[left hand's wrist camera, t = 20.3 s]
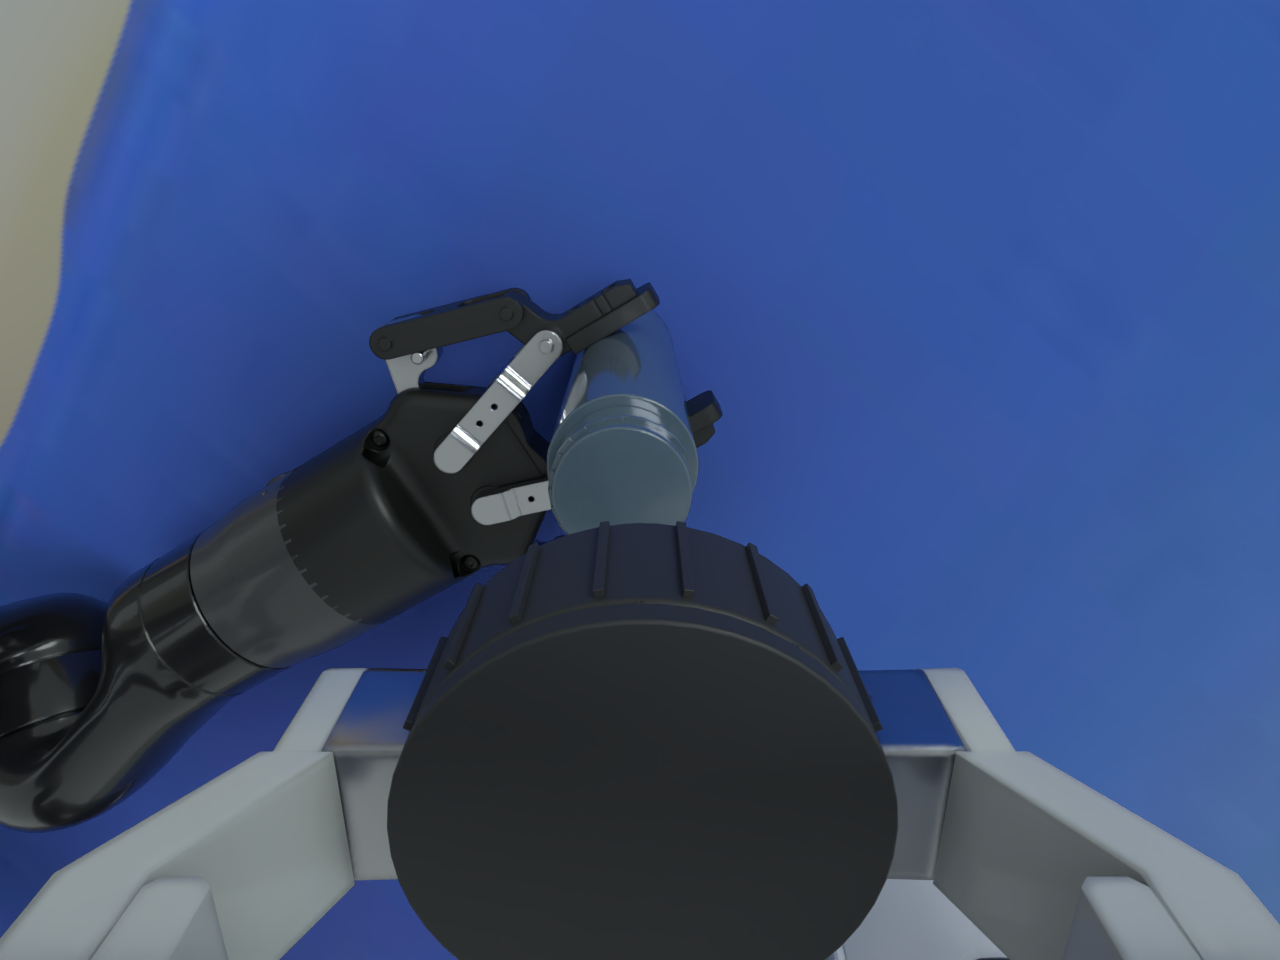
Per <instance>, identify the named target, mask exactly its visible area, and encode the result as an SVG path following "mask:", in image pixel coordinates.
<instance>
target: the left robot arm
mask: <svg viewBox="0 0 1280 960" xmlns="http://www.w3.org/2000/svg"><path fill="white" fill-rule="evenodd" d="M426 671H427V669H385V668H370V669H366V668H330V669H327V670H325V671H323V672H322V673H321V674H320V676H319V678H318V679H317V681H316V682H315V684H314V686H313V687H312V689H311V690H310V692H309V694H308V695H307V697H306V698H305V700H304V702H303V703H302V705H301V706H300V708H299V710H298V711H297V713H296V714H295V716H294V718H293V719H292V721H291V722H290V724H289V726H288V727H287V729H286V731H285V732H284V734H283V735H282V737H281V739H280V740H279V742H278V743H277V745H276V747H275V748H274V750H273V751H272V752H259V753H257V754H255V755H254V756H252V757H250V758H248V759H247V760H245V761H243V762H242V763H240V764H238V765H237V766H235V767H233V768H231V769H230V770H228V771H226V772H225V773H223V774H221V775H220V776H218V777H216V778H214V779H213V780H211V781H209V782H208V783H206V784H204V785H203V786H201V787H199V788H198V789H196V790H194V791H192V792H191V793H189V794H187V795H186V796H184V797H182V798H181V799H179V800H177V801H175V802H174V803H172V804H170V805H169V806H167V807H165V808H164V809H162V810H160V811H158V812H157V813H155V814H153V815H152V816H150V817H148V818H147V819H145V820H143V821H141V822H140V823H138V824H136V825H135V826H133V827H131V828H130V829H128V830H126V831H125V832H123V833H121V834H119V835H118V836H116V837H114V838H113V839H111V840H109V841H108V842H106V843H104V844H102V845H101V846H99V847H97V848H96V849H94V850H92V851H91V852H89V853H87V854H85V855H84V856H82V857H80V858H79V859H77V860H75V861H74V862H72V863H70V864H69V865H67V866H65V867H63V868H62V869H60V870H58V871H57V872H55V873H54V874H53V875H52V876H51V877H50V879H49V880H48V881H47V882H46V884H45V885H44V886H43V887H42V888H41V890H40V891H39V892H38V893H37V895H36V896H35V897H34V898H33V899H32V901H31V902H30V903H29V904H28V905H27V907H26V908H25V909H24V910H23V912H22V913H21V914H20V915H19V916H18V918H17V919H16V920H15V921H14V922H13V924H12V925H11V926H10V927H9V929H8V930H7V931H6V932H5V933H4V935H3V936H2V937H1V938H0V960H279V959H280V958H281V957H282V956H283V955H284V954H285V953H286V952H287V951H288V950H289V949H290V948H291V947H292V946H293V945H294V944H295V943H296V942H297V941H298V940H299V939H300V938H301V937H302V936H303V935H304V934H305V933H306V932H307V931H308V930H309V929H310V928H311V927H312V926H313V925H314V924H315V923H317V922H318V921H319V920H320V919H321V918H322V917H323V916H324V915H325V914H326V913H327V912H328V911H329V910H330V909H331V908H332V907H333V906H334V905H335V904H336V903H337V902H338V901H339V900H340V899H341V898H342V897H343V896H344V895H345V894H346V893H347V892H348V891H349V890H350V889H351V888H352V887H353V886H354V885H355V882H354V880H381V879H398V877H397V874H396V871H395V868H394V865H393V861H392V858H391V854H390V847H389V840H388V832H387V805H388V797H389V792H390V787H391V782H392V777H393V773H394V771H395V768H396V765H397V763H398V760H399V757H400V755H401V752H402V750H403V747H404V745H405V742H406V740H407V737H408V735H409V732H410V731H409V730H406V729H403V725H404V723H405V721H406V718H407V716H408V714H409V711H410V709H411V706H412V704H413V702H414V699H415V697H416V695H417V692H418V690H419V688H420V685H421V683H422V680H423V678H424V676H425V673H426ZM858 672H859V675H860V677H861V679H862V681H863V684H864V686H865V688H866V691H867V693H868V695H869V698H870V700H871V702H872V704H873V707H874V709H875V711H876V714H877V716H878V718H879V721H880V723H881V725H882V728H883V730H880V731H877V732H876V734H877V737H878V739H879V741H880V744H881V746H882V749H883V751H884V754H885V757H886V759H887V762H888V765H889V767H890V770H891V772H892V776H893V781H894V786H895V791H896V796H897V801H898V832H897V839H896V846H895V853H894V858H893V861H892V864H891V867H890V871H889V874H888V877H887V880H886V882H885V884H884V886H883V888H882V891H881V893H880V895H879V897H878V899H877V901H876V903H875V905H874V906H873V908H872V909H871V910H870V912H869V913H868V915H867V916H866V918H865V919H864V921H863V922H862V924H861V925H860V926H859V928H858V929H857V930H856V931H855V932H854V933H853V934H852V935H851V936H850V937H849V939H848V940H847V941H846V942H845V943H844V944H843V945H842V946H841V947H840V948H839V949H838V950H837V951H835V952H834V953H833V954H832V955H831V956H830V957H828V958H827V959H826V960H1280V924H1279V923H1278V922H1277V921H1276V920H1275V918H1274V917H1273V916H1272V915H1271V914H1270V912H1269V911H1268V910H1267V909H1266V908H1265V906H1264V905H1263V904H1262V903H1261V902H1260V900H1259V899H1258V898H1257V897H1256V896H1255V894H1254V893H1253V892H1252V891H1251V890H1250V888H1249V887H1248V886H1247V885H1246V884H1245V882H1244V881H1243V880H1242V879H1241V878H1240V876H1239V875H1238V874H1236V873H1235V872H1233V871H1231V870H1230V869H1228V868H1226V867H1225V866H1223V865H1221V864H1219V863H1218V862H1216V861H1214V860H1213V859H1211V858H1209V857H1207V856H1206V855H1204V854H1202V853H1201V852H1199V851H1197V850H1196V849H1194V848H1192V847H1190V846H1189V845H1187V844H1185V843H1184V842H1182V841H1180V840H1178V839H1177V838H1175V837H1173V836H1172V835H1170V834H1168V833H1166V832H1165V831H1163V830H1161V829H1160V828H1158V827H1156V826H1155V825H1153V824H1151V823H1149V822H1148V821H1146V820H1144V819H1143V818H1141V817H1139V816H1137V815H1136V814H1134V813H1132V812H1131V811H1129V810H1127V809H1125V808H1124V807H1122V806H1120V805H1119V804H1117V803H1115V802H1114V801H1112V800H1110V799H1108V798H1107V797H1105V796H1103V795H1102V794H1100V793H1098V792H1096V791H1095V790H1093V789H1091V788H1090V787H1088V786H1086V785H1084V784H1083V783H1081V782H1079V781H1078V780H1076V779H1074V778H1073V777H1071V776H1069V775H1067V774H1066V773H1064V772H1062V771H1061V770H1059V769H1057V768H1055V767H1054V766H1052V765H1050V764H1049V763H1047V762H1045V761H1044V760H1042V759H1040V758H1038V757H1037V756H1035V755H1033V754H1032V753H1030V752H1016V751H1015V749H1014V748H1013V746H1012V745H1011V743H1010V741H1009V740H1008V738H1007V737H1006V735H1005V734H1004V732H1003V731H1002V729H1001V728H1000V726H999V724H998V723H997V721H996V720H995V718H994V717H993V715H992V714H991V712H990V711H989V709H988V707H987V706H986V704H985V703H984V701H983V700H982V698H981V697H980V695H979V693H978V692H977V690H976V689H975V687H974V686H973V684H972V683H971V681H970V680H969V678H968V676H967V675H966V673H965V672H964V671H963V670H961V669H959V668H957V667H956V668H927V669H918V670H861V671H858Z"/></svg>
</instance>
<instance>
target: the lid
mask: <svg viewBox="0 0 1280 960" xmlns="http://www.w3.org/2000/svg"><path fill="white" fill-rule="evenodd" d="M403 729H406V730H409V731H410V732H409V735H408V737H407V740H406V742H405V745H404V747H403V750H402V752H401V755H400V757H399V760H398V763H397V765H396V768H395V771H394V773H393V777H392V782H391V787H390V792H389V797H388V805H387V832H388V840H389V847H390V854H391V858H392V861H393V865H394V868H395V871H396V874H397V877H398V881H399V883H400V885H401V887H402V889H403V891H404V893H405V895H406V897H407V899H408V901H409V903H410V905H411V907H412V908H413V909H414V911H415V912H416V914H417V915H418V917H419V918H420V920H421V921H422V923H423V924H424V926H425V927H426V928H427V929H428V930H429V931H430V932H431V934H432V935H433V936H434V937H435V938H436V939H437V940H438V941H439V942H440V943H441V945H442V946H443V947H444V948H446V949H447V950H448V951H449V952H450V953H451V954H453V955H454V956H455V957H456V958H457V959H458V960H826V959H827V958H828V957H830V956H831V955H832V954H833V953H834V952H835V951H837V950H838V949H839V948H840V947H841V946H842V945H843V944H844V943H845V942H846V941H847V940H848V939H849V937H850V936H851V935H852V934H853V933H854V932H855V931H856V930H857V929H858V928H859V926H860V925H861V924H862V922H863V921H864V919H865V918H866V916H867V915H868V913H869V912H870V910H871V909H872V908H873V906H874V905H875V903H876V901H877V899H878V897H879V895H880V893H881V891H882V888H883V886H884V884H885V882H886V880H887V877H888V874H889V871H890V867H891V864H892V861H893V858H894V853H895V846H896V839H897V832H898V801H897V796H896V791H895V786H894V781H893V776H892V772H891V770H890V767H889V765H888V762H887V759H886V757H885V754H884V751H883V749H882V746H881V744H880V741H879V739H878V737H877V734H876V732H877V731H880V730H883V728H882V725H881V723H880V721H879V718H878V716H877V714H876V711H875V709H874V707H873V704H872V702H871V700H870V698H869V695H868V693H867V691H866V688H865V686H864V684H863V681H862V679H861V677H860V675H859V672H858V670H857V668H856V665H855V663H854V661H853V658H852V656H851V654H850V652H849V649H848V647H847V645H846V642H845V640H844V638H843V637H842V638H839V639H836V636H835V634H834V632H833V630H832V628H831V627H830V625H829V623H828V621H827V619H826V618H825V616H824V614H823V612H822V611H821V609H820V608H819V605H818V603H817V600H816V598H815V595H814V593H813V590H812V588H811V587H810V586H809V585H808V584H805V585H804V586H802V587H801V586H800V585H799V584H798V583H797V582H796V581H795V580H794V579H793V578H792V577H791V576H790V575H789V574H788V573H786V572H785V571H784V570H782V569H781V568H779V567H778V566H777V565H775V564H774V563H773V562H771V561H770V560H768V559H767V558H766V557H764V556H762V555H760V554H759V553H758V550H757V547H756V546H755V545H753V544H751V543H748V545H747V546H746V547H745V546H743V545H741V544H739V543H736V542H734V541H731V540H729V539H726V538H723V537H721V536H718V535H716V534H712V533H708V532H704V531H700V530H696V529H692V528H688V527H686V522H680V521H677V522H676V526H674V525H666V524H657V523H627V524H619V525H610V523H609V521H604V522H600V526H599V527H596V528H592V529H588V530H584V531H580V532H576V533H572V534H569V535H566V536H564V537H561V538H558V539H556V540H553V541H550V542H548V543H545V544H543V545H541V546H539V545H538V543H537V542H536V543H534V544H532V545H530V546H529V548H528V551H527V553H526V554H524V555H522V556H521V557H519V558H517V559H516V560H515V561H513V562H512V563H510V564H509V565H508V566H506V567H505V568H503V569H502V570H501V571H499V572H498V573H497V574H496V575H495V576H493V577H492V578H491V579H490V580H489V581H488V582H487V583H486V584H485V585H484V586H482V585H481V584H480V583H477V584H476V586H475V587H474V588H473V590H472V592H471V595H470V597H469V600H468V602H467V605H466V607H465V608H464V610H463V611H462V613H461V614H460V616H459V618H458V620H457V621H456V623H455V625H454V627H453V628H452V630H451V632H450V634H449V637H448V638H446V637H443V636H441V638H440V640H439V643H438V645H437V647H436V650H435V652H434V654H433V657H432V659H431V662H430V664H429V666H428V669H427V671H426V673H425V676H424V678H423V680H422V683H421V685H420V688H419V690H418V692H417V695H416V697H415V699H414V702H413V704H412V706H411V709H410V711H409V714H408V716H407V718H406V721H405V723H404V725H403Z"/></svg>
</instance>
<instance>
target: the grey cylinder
mask: <svg viewBox="0 0 1280 960" xmlns="http://www.w3.org/2000/svg"><path fill="white" fill-rule="evenodd" d="M698 470H699V463H698V454H697V448H696V444H695V439H694V435H693V431H692V426H691V422H690V418H689V413H688V409H687V405H686V400H685V396H684V392H683V387H682V383H681V378H680V374H679V370H678V365H677V361H676V357H675V352H674V348H673V344H672V339H671V336H670V333H669V330H668V328H667V326H666V325H665V323H664V322H663V320H662V319H661V318H660V317H659V316H658V315H657V314H656V313H654V312H653V311H649V312H647V313H646V314H644V315H642V316H641V317H639V318H637V319H636V320H634V321H632V322H630V323H629V324H627V325H625V326H624V327H622V328H620V329H619V330H617V331H615V332H613V333H612V334H610V335H608V336H607V337H605V338H603V339H602V340H600V341H597V342H596V343H594V344H593V345H591V346H590V347H588V348H586V349H585V350H583V351H581V352H580V353H578V354H577V355H576V358H575V362H574V365H573V368H572V372H571V375H570V378H569V382H568V385H567V388H566V392H565V395H564V398H563V402H562V405H561V408H560V412H559V415H558V418H557V422H556V425H555V428H554V432H553V435H552V438H551V442H550V445H549V449H548V454H547V476H548V481H549V483H548V494H549V499H550V505H551V510H552V512H553V514H554V516H555V518H556V520H557V522H558V525H559V526H560V527H561V528H562V529H563V530H564V532H565V533H566V534H567V535H569V534H572V533H576V532H580V531H584V530H588V529H592V528H596V527H599V526H600V522H604V521H609V523H610V525H619V524H627V523H657V524H666V525H674V526H676V522H677V521H680V522H685V520H686V518H687V515H688V513H689V510H690V506H691V501H692V494H693V491H694V489H695V486H696V482H697V478H698Z"/></svg>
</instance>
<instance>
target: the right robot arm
mask: <svg viewBox="0 0 1280 960" xmlns="http://www.w3.org/2000/svg"><path fill="white" fill-rule="evenodd" d="M659 303H660V302H659V297H658V295H657V294H656V292H655V290H654V288H653V287H652V285H651V283H650V282H649V283H647V284H644V285H643V286H641V287H639V288H637V289H636V288H635V286H634V284H633V283H632V281H631V279H627V280H620V281H616V282H614V283H613V284H611V285H609V286H608V287H606V288H604V289H603V290H601V291H599V292H598V293H596V294H595V295H593V296H591V297H589V298H588V299H586V300H584V301H583V302H581V303H579V304H578V305H576V306H574V307H573V308H571V309H569V310H568V311H566V312H564V313H562V314H550V313H547V312H545V311H544V310H542V309H541V308H540V307H538V306H537V305H536V304H535V303H534V302H532V301H531V299H530V297H529V295H528V294H527V293H526V292H525V291H524V290H522V289H520V288H511V289H507V290H503V291H499V292H495V293H491V294H487V295H483V296H479V297H475V298H471V299H467V300H463V301H459V302H455V303H451V304H447V305H443V306H439V307H435V308H432V309H428V310H424V311H420V312H416V313H412V314H408V315H404V316H400V317H396V318H394V319H393V320H391V321H389V322H387V323H386V324H384V325H383V326H381V327H380V328H378V329H377V330H375V331H374V332H373V333H372V334H371V336H370V340H369V344H370V348H371V350H372V352H373V353H374V354H375V355H376V356H377V357H379V358H381V359H385V360H386V363H387V366H388V368H389V371H390V374H391V377H392V379H393V382H394V385H395V388H396V390H397V393H398V394H397V395H396V396H395V397H394V398H393V400H392V401H391V403H390V405H389V407H388V409H387V411H386V413H385V414H384V415H383V416H382V417H380V418H379V419H377V420H375V421H374V422H372V423H370V424H369V425H367V426H365V427H364V428H362V429H361V430H359V431H357V432H356V433H354V434H352V435H351V436H349V437H347V438H346V439H344V440H342V441H341V442H339V443H337V444H336V445H334V446H332V447H331V448H329V449H327V450H326V451H324V452H322V453H321V454H319V455H317V456H316V457H314V458H312V459H311V460H309V461H307V462H306V463H304V464H302V465H301V466H299V467H297V468H296V469H294V470H293V471H291V472H287V473H284V474H282V475H280V476H278V477H276V478H274V479H272V480H271V481H270V482H269V483H268V484H267V485H266V487H264V488H263V489H261V490H259V491H258V492H256V493H255V494H253V495H251V496H250V497H248V498H247V499H245V500H244V501H242V502H241V503H239V504H238V505H237V506H235V507H234V508H233V509H232V510H231V511H229V512H228V513H227V514H226V515H225V516H224V517H222V518H221V519H220V520H219V521H218V522H216V523H215V524H214V525H212V526H211V527H209V528H208V529H206V530H205V531H203V532H201V533H200V534H198V535H196V536H195V537H193V538H191V539H190V540H188V541H186V542H185V543H183V544H181V545H180V546H178V547H176V548H175V549H173V550H172V551H170V552H168V553H167V554H165V555H163V556H162V557H160V558H158V559H156V560H155V561H153V562H152V563H150V564H148V565H147V566H145V567H144V568H142V569H140V570H139V571H137V572H136V573H134V574H133V575H132V576H130V577H129V578H128V579H127V580H125V581H124V582H123V583H122V584H121V586H120V587H119V588H118V589H117V590H116V591H115V593H114V594H113V595H112V597H111V599H110V601H109V603H108V604H107V603H105V602H103V601H101V600H99V599H96V598H94V597H90V596H87V595H83V594H77V593H55V594H48V595H43V596H38V597H33V598H29V599H25V600H21V601H18V602H14V603H10V604H7V605H3V606H0V825H1V826H3V827H6V828H8V829H11V830H15V831H21V832H28V833H43V832H52V831H57V830H62V829H66V828H69V827H73V826H76V825H79V824H81V823H84V822H86V821H89V820H91V819H93V818H95V817H97V816H99V815H101V814H103V813H105V812H107V811H108V810H110V809H112V808H113V807H115V806H116V805H118V804H120V803H121V802H123V801H124V800H126V799H127V798H128V797H130V796H131V795H132V794H134V793H135V792H136V791H137V790H139V789H140V788H141V787H143V786H144V785H145V784H146V783H147V782H148V781H149V780H150V779H151V778H152V777H154V776H155V775H156V774H157V773H158V772H159V771H160V770H161V769H162V768H163V767H164V766H165V765H166V764H167V763H168V762H169V761H170V760H171V759H172V758H173V756H174V755H175V754H176V753H177V752H178V751H179V750H180V749H181V748H182V747H183V746H184V744H185V743H186V742H187V741H188V740H189V739H190V738H191V737H192V736H193V735H194V734H195V733H196V732H197V731H198V730H199V729H200V728H201V727H202V726H203V725H204V724H205V723H206V722H207V721H208V720H209V719H210V718H211V717H212V716H213V715H214V714H215V713H216V712H218V711H219V710H220V709H221V708H222V707H223V706H224V705H225V704H226V703H227V702H228V701H230V700H231V699H233V698H234V697H236V696H238V695H240V694H241V693H243V692H245V691H247V690H248V689H250V688H252V687H254V686H256V685H258V684H259V683H261V682H263V681H265V680H267V679H269V678H270V677H272V676H274V675H276V674H278V673H280V672H281V671H283V670H285V669H287V668H289V667H290V666H292V665H294V664H297V663H299V662H301V661H303V660H305V659H308V658H311V657H314V656H317V655H319V654H322V653H325V652H327V651H330V650H332V649H335V648H337V647H339V646H341V645H343V644H345V643H347V642H349V641H351V640H352V639H354V638H356V637H358V636H360V635H362V634H363V633H365V632H367V631H369V630H371V629H373V628H374V627H376V626H378V625H380V624H382V623H384V622H385V621H387V620H389V619H391V618H393V617H395V616H396V615H398V614H400V613H402V612H404V611H406V610H407V609H409V608H411V607H413V606H415V605H417V604H418V603H420V602H422V601H424V600H426V599H428V598H430V597H431V596H433V595H435V594H437V593H439V592H441V591H442V590H444V589H446V588H448V587H450V586H452V585H453V584H455V583H457V582H459V581H461V580H463V579H464V578H466V577H468V576H469V575H471V574H473V573H474V572H476V571H478V570H479V569H481V568H484V567H487V566H491V565H508V564H510V563H512V562H513V561H515V560H516V559H517V558H519V557H521V556H522V555H524V554H526V553H527V551H528V548H529V546H530V545H532V544H534V543H536V542H537V543H538V545H539V546H541V545H543V544H545V543H548V542H540V541H537V540H536V539H535V537H536V535H537V532H538V530H539V528H540V525H541V523H542V521H543V518H544V516H545V514H546V512H547V510H550V509H551V505H550V499H549V494H548V483H549V481H548V476H547V454H548V449H549V445H550V444H549V443H548V442H547V441H546V440H545V439H544V438H543V437H542V436H541V435H540V434H538V433H537V432H536V431H535V430H534V428H533V425H532V422H531V419H530V416H529V413H528V411H527V409H526V408H525V406H524V405H523V403H522V402H521V400H522V399H523V398H524V397H525V396H526V394H527V393H528V392H529V390H530V389H531V388H532V387H533V385H534V384H535V383H536V382H537V381H538V380H539V379H540V378H541V376H542V375H543V374H544V373H545V372H546V371H547V370H548V369H549V367H550V366H551V365H552V364H553V363H554V362H555V361H556V360H557V359H558V358H559V357H560V356H562V355H564V354H565V353H567V352H569V351H571V350H572V351H573V353H574V355H576V354H578V353H580V352H581V351H583V350H585V349H586V348H588V347H590V346H591V345H593V344H594V343H596V342H597V341H600V340H602V339H603V338H605V337H607V336H608V335H610V334H612V333H613V332H615V331H617V330H619V329H620V328H622V327H624V326H625V325H627V324H629V323H630V322H632V321H634V320H636V319H637V318H639V317H641V316H642V315H644V314H646V313H647V312H649V311H651V310H652V309H654V308H655V307H656V306H658V305H659ZM503 331H508V332H509V333H510V334H512V335H513V336H514V337H515V338H517V339H518V340H519V341H521V342H522V343H523V344H524V345H523V346H522V347H521V348H520V349H519V351H518V352H517V353H516V354H515V355H514V356H513V357H512V358H511V359H510V360H509V361H508V363H507V364H506V365H505V366H504V367H503V368H502V370H501V371H500V372H499V373H498V374H497V375H496V376H495V378H494V379H493V380H492V381H491V382H490V383H489V384H488V386H487V387H476V386H465V385H454V384H444V383H433V382H425V381H424V373H425V370H426V369H428V368H430V367H432V366H433V365H434V364H435V363H436V362H437V361H438V360H439V359H440V358H441V356H442V353H443V347H442V346H446V345H450V344H454V343H458V342H463V341H467V340H471V339H475V338H479V337H483V336H487V335H491V334H495V333H499V332H503ZM686 405H687V409H688V413H689V418H690V422H691V426H692V431H693V435H694V439H695V444H696V448H697V447H699V446H701V445H703V444H705V443H706V442H707V441H708V440H709V439H710V438H711V437H712V435H713V434H714V433H715V430H714V426H713V423H714V422H716V421H717V420H718V419H719V418H720V417H721V416H722V411H721V408H720V405H719V403H718V401H717V400H716V398H715V396H714V394H713V392H712V391H706V392H703V393H701V394H699V395H698V396H696V397H694V398H692V399H690V400H689V401H687V402H686ZM564 536H566V535H561V536H558V537H556V538H554V539H553V540H556V539H558V538H561V537H564ZM553 540H551V541H553ZM549 542H550V541H549Z"/></svg>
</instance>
